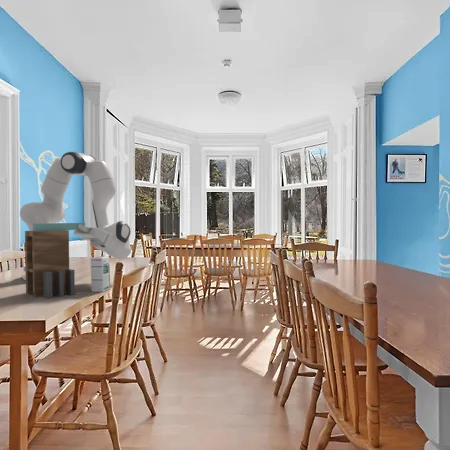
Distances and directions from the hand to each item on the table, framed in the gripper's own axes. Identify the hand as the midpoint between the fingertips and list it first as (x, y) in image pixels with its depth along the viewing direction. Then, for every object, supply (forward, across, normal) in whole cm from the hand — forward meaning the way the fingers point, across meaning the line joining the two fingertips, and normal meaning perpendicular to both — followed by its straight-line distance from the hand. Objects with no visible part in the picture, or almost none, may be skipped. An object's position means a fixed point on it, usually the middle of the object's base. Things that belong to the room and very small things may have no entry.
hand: (75, 225), depth 168 cm
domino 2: (-4, +10, +30) cm, 32 cm away
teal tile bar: (+5, 0, +5) cm, 7 cm away
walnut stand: (-3, 0, +30) cm, 30 cm away
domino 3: (-8, +10, +28) cm, 31 cm away
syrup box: (-18, +13, +22) cm, 31 cm away
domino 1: (0, +10, +32) cm, 34 cm away
